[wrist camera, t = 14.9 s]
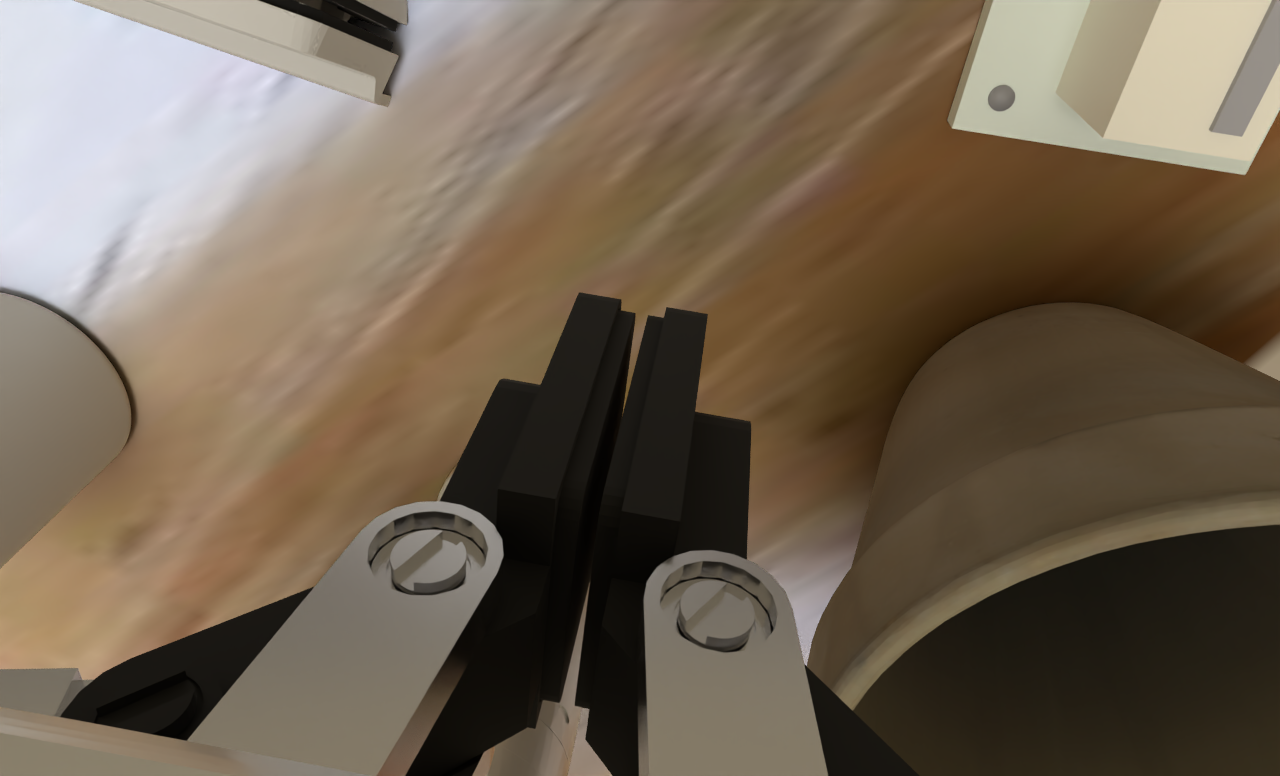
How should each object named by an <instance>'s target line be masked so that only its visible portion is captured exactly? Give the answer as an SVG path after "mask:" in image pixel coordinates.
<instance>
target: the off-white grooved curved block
mask: <svg viewBox="0 0 1280 776" xmlns="http://www.w3.org/2000/svg"><path fill="white" fill-rule="evenodd" d="M74 1H77V2H80V3H83V4H85V5H88V6H91V7H94V8H97V9H100V10H103V11H106V12H109V13H112V14H115V15H118V16H120V17H123V18H126V19H129V20H132V21H135V22H138V23H141V24H144V25H147V26H150V27H153V28H156V29H158V30H161V31H164V32H167V33H170V34H173V35H176V36H179V37H182V38H185V39H188V40H191V41H194V42H196V43H199V44H202V45H205V46H208V47H211V48H214V49H217V50H220V51H223V52H226V53H229V54H232V55H234V56H237V57H240V58H243V59H246V60H249V61H252V62H255V63H258V64H261V65H264V66H267V67H269V68H272V69H275V70H278V71H281V72H284V73H287V74H290V75H293V76H296V77H299V78H302V79H305V80H307V81H310V82H313V83H316V84H319V85H322V86H325V87H328V88H331V89H334V90H337V91H340V92H343V93H345V94H348V95H351V96H354V97H357V98H360V99H363V100H366V101H369V102H372V103H375V104H378V105H382V106H386V107H388V105H389V102H390V99H391V96H389V95H386V94H383V90H384V88H385V86H386V84H387V82H388V79H389V77H390V75H391V73H392V71H393V68H394V66H395V64H396V62H397V60H398V57H399V56H398V55H396V54H394V53H391V49H392V45H393V42H391V41H388V40H386V39H384V38H382V37H379V36H377V35H375V34H373V33H370V32H368V31H366V30H364V29H361V28H359V27H357V26H355V25H353V24H350V23H348V22H347V21H348V20H349V19H350V18H351V17H353V16H354V17H356V18H358V19H360V20H363V21H366V22H369V23H372V24H375V25H377V26H380V27H383V28H386V29H389V30H392V31H395V32H396V28H397V24H398V23H401V24H404V25H407V9H408V7H407V0H74Z"/></svg>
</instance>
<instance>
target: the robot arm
mask: <svg viewBox="0 0 1280 776" xmlns="http://www.w3.org/2000/svg"><path fill="white" fill-rule="evenodd" d="M707 316H708V314H704V313H698V312H692V311H686V310H680V309H674V308H668V307H667V308H666V312H665V316H664V318H661V317H655V316H649V315H648V318H647V322H646V326H645V330H644V334H643V338H642V342H641V346H640V350H639V354H638V357H637V361H636V365H635V369H634V373H633V377H632V381H631V385H630V389H629V393H628V397H627V401H626V405H625V409H624V413H623V406H624V398H625V391H626V384H627V376H628V369H629V361H630V354H631V347H632V339H633V332H634V324H635V313H632V312H626V311H621V299H615V298H609V297H603V296H597V295H591V294H585V293H579V294H578V296H577V298H576V301H575V303H574V306H573V308H572V311H571V313H570V315H569V318H568V320H567V323H566V325H565V327H564V330H563V332H562V335H561V337H560V340H559V342H558V344H557V347H556V349H555V352H554V354H553V356H552V359H551V361H550V364H549V366H548V368H547V371H546V373H545V376H544V378H543V381H542V383H541V385H538V384H532V383H526V382H520V381H515V380H509V379H501V380H500V381H499V382H498V384H497V386H496V387H495V389H494V391H493V393H492V395H491V397H490V399H489V401H488V404H487V406H486V408H485V410H484V412H483V414H482V416H481V418H480V420H479V422H478V424H477V426H476V428H475V430H474V432H473V434H472V436H471V438H470V440H469V442H468V444H467V446H466V448H465V450H464V452H463V454H462V456H461V458H460V460H459V462H458V464H457V465H456V466H455V467H454V469H453V470H452V471H451V473H450V474H449V475H448V477H447V478H446V480H445V482H444V484H443V486H442V489H441V490H440V492H439V495H438V499H437V501H433V502H416V503H412V504H408V505H404V506H400V507H396V508H394V509H392V510H390V511H388V512H386V513H384V514H382V515H380V516H378V517H376V518H375V519H374V520H373V521H372V522H370V523H369V524H368V525H367V526H366V527H365V528H364V529H362V530H361V532H360V533H359V534H358V535H357V536H356V538H355V539H354V540H353V541H352V542H351V544H350V545H349V546H348V547H347V548H346V550H345V551H344V552H343V553H342V554H341V556H340V557H339V558H338V559H337V560H336V562H335V563H334V564H333V565H332V566H331V568H330V569H329V570H328V571H327V572H326V574H325V575H324V576H323V577H322V578H321V580H320V581H319V582H318V583H317V584H316V586H315V587H312V588H310V589H307V590H305V591H302V592H300V593H297V594H295V595H292V596H289V597H287V598H284V599H282V600H279V601H277V602H274V603H272V604H269V605H266V606H264V607H261V608H259V609H256V610H254V611H251V612H249V613H246V614H243V615H241V616H238V617H236V618H233V619H231V620H228V621H226V622H223V623H221V624H218V625H215V626H213V627H210V628H208V629H205V630H203V631H200V632H198V633H195V634H192V635H190V636H187V637H185V638H182V639H180V640H177V641H175V642H172V643H169V644H167V645H164V646H162V647H159V648H157V649H154V650H152V651H149V652H146V653H144V654H141V655H139V656H136V657H134V658H131V659H129V660H127V661H125V662H123V663H121V664H119V665H117V666H115V667H113V668H111V669H109V670H107V671H105V672H103V673H102V674H101V675H100V676H98V677H97V678H96V679H95V680H82V678H81V675H80V673H79V670H78V668H59V669H0V776H567V775H568V771H569V766H570V762H571V757H572V752H573V748H574V743H575V739H576V734H577V729H578V725H579V720H580V715H581V711H582V707H583V708H588V709H590V711H589V718H588V725H587V732H586V741H587V742H588V743H589V745H590V746H591V747H592V749H593V750H594V751H595V753H596V754H597V755H598V757H599V758H600V759H601V761H602V762H603V763H604V765H605V766H606V767H607V769H608V770H609V771H610V773H611V774H612V776H919V775H918V774H917V773H916V772H915V771H914V770H913V769H912V768H911V767H910V766H909V765H908V764H907V763H906V762H905V761H904V760H903V759H902V758H901V757H900V756H899V755H898V754H897V753H896V752H895V751H894V750H893V749H892V748H891V747H890V746H888V745H887V744H886V743H885V742H884V741H883V740H882V739H881V738H880V737H879V736H878V735H877V734H876V733H875V732H874V731H873V730H872V729H871V728H870V727H869V726H868V725H867V724H866V723H865V722H864V721H863V720H862V719H861V718H860V717H859V716H857V715H856V714H855V713H854V712H853V711H852V710H851V709H850V708H849V707H848V706H847V705H846V704H845V703H844V702H843V701H842V700H841V699H840V698H839V697H838V696H837V695H836V694H835V693H834V692H833V691H832V690H831V689H830V688H829V687H828V686H826V685H825V684H824V683H823V682H822V681H821V680H820V679H819V678H818V677H817V676H816V675H815V674H814V673H813V672H812V671H811V670H810V669H809V668H808V667H807V666H806V665H805V664H804V661H803V656H802V651H801V647H800V642H799V637H798V633H797V628H796V623H795V619H794V614H793V609H792V607H791V604H790V602H789V600H788V597H787V595H786V592H785V591H784V589H783V588H782V587H781V586H780V585H779V583H778V582H777V581H776V580H775V579H774V577H773V576H772V575H770V574H769V573H768V572H766V571H765V570H763V569H762V568H761V567H759V566H758V565H757V564H755V563H753V562H751V561H749V560H747V533H748V505H749V478H750V450H751V423H750V421H744V420H739V419H733V418H727V417H721V416H716V415H710V414H704V413H698V412H695V407H696V399H697V392H698V384H699V377H700V369H701V362H702V354H703V347H704V339H705V332H706V324H707ZM622 413H623V417H622Z"/></svg>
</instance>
